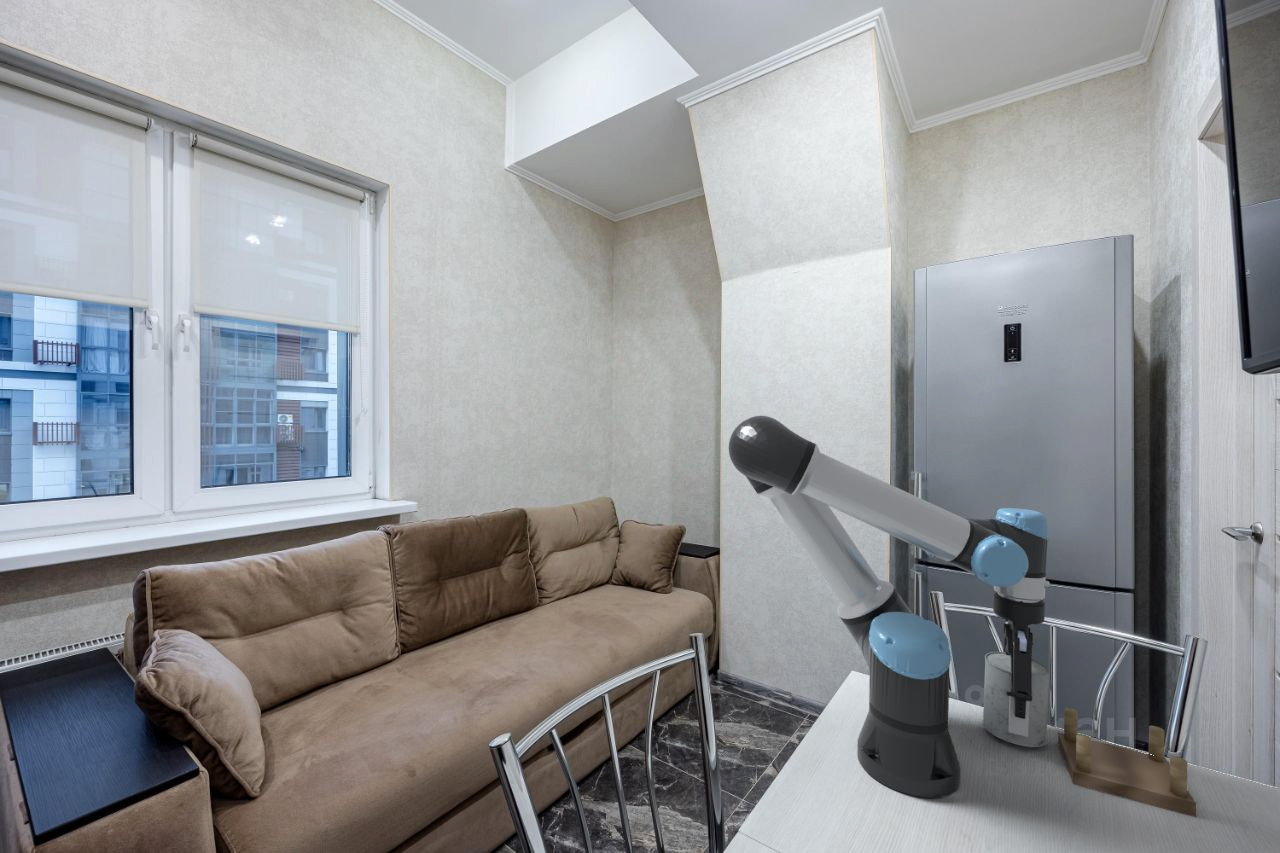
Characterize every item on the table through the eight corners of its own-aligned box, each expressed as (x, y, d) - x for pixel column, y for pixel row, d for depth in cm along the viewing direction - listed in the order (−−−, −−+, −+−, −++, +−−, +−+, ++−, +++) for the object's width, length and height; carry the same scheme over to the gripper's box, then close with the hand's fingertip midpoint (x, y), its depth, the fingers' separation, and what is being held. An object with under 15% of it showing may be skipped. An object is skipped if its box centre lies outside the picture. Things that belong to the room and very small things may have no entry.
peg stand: (1073, 784, 84) (1073, 740, 84) (1057, 743, 94) (1058, 704, 94) (1196, 816, 77) (1197, 768, 77) (1164, 769, 87) (1165, 726, 87)
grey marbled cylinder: (1058, 751, 91) (1061, 679, 90) (996, 742, 93) (998, 672, 92) (1030, 719, 100) (1032, 654, 100) (973, 712, 102) (976, 649, 102)
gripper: (1057, 620, 84) (1052, 760, 85) (1034, 583, 104) (1030, 697, 104) (1000, 610, 88) (995, 745, 88) (988, 576, 107) (984, 686, 108)
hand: (1014, 719), depth 96 cm, fingers closed on grey marbled cylinder, 9 cm apart
